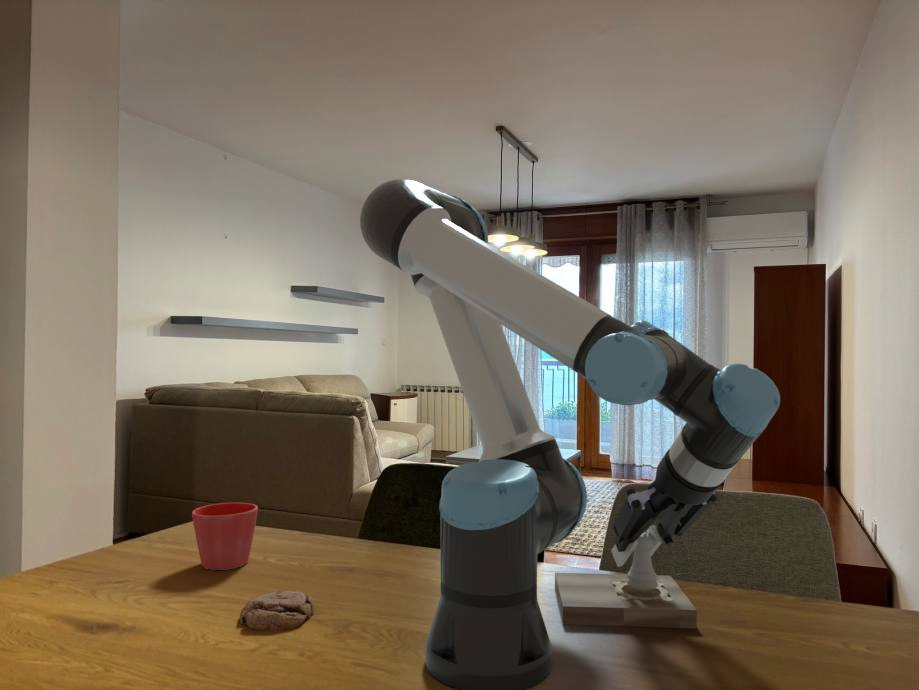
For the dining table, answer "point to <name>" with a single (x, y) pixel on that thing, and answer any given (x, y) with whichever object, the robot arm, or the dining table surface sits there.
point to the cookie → (277, 610)
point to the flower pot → (224, 534)
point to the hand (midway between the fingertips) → (628, 557)
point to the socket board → (622, 602)
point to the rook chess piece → (642, 565)
